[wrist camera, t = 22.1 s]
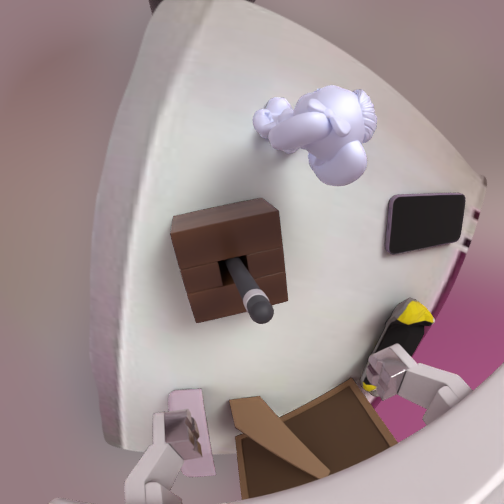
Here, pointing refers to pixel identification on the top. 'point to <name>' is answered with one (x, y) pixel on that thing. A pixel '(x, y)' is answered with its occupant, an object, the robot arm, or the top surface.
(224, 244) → the pen block
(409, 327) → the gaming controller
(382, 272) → the top surface
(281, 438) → the photo frame
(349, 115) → the toy figurine
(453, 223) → the smartphone
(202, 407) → the electronic device
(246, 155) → the top surface
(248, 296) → the stylus
